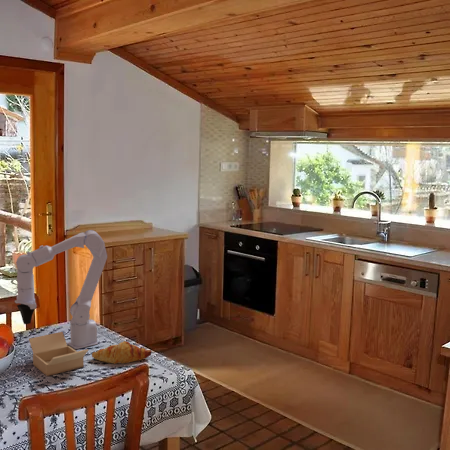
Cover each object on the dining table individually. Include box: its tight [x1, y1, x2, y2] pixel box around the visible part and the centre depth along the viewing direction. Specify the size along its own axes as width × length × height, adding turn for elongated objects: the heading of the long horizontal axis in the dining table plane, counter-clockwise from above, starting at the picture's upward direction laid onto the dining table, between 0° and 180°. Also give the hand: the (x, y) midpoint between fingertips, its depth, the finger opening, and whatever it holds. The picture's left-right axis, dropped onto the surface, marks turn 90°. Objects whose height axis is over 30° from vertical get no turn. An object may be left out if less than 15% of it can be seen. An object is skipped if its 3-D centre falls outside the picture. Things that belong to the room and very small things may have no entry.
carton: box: [32, 345, 85, 377], centre depth 189 cm, size 13×12×4 cm
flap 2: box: [48, 348, 89, 366], centre depth 182 cm, size 12×6×1 cm
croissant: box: [91, 340, 152, 365], centre depth 195 cm, size 21×10×8 cm, turn 96°
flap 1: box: [28, 331, 68, 355], centre depth 195 cm, size 12×6×1 cm
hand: (27, 323), depth 201 cm, fingers closed
